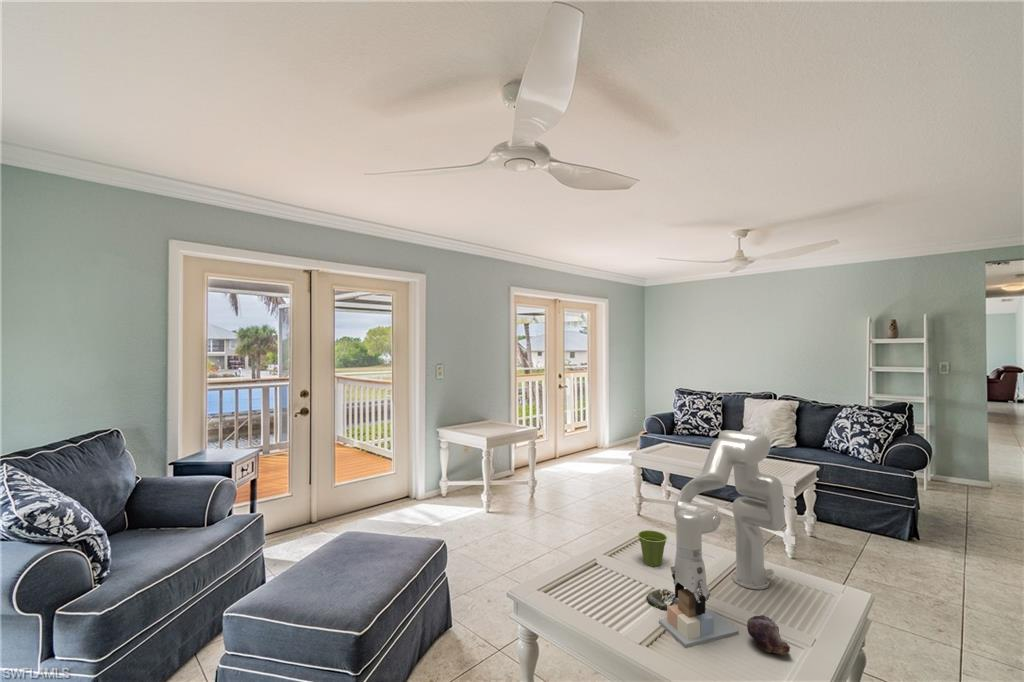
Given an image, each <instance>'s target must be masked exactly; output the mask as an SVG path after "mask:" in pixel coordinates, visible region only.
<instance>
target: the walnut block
mask: <svg viewBox="0 0 1024 682" xmlns="http://www.w3.org/2000/svg"><path fill="white" fill-rule="evenodd" d="M698 595H699V598H700V597H701V594H700V593H698ZM677 599H678V609H679V610H680V611H681V612H682V613H684V614H685V615H686V616H687V617H688V618H690V617H694V616H699V615H697V614H696V612H695V601H697V600H696V597H695V595H694V593H692V592H691V591H689V590H688V589H687V588H684V589H682V590H678V598H677ZM700 615H702V614H700Z"/></svg>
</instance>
